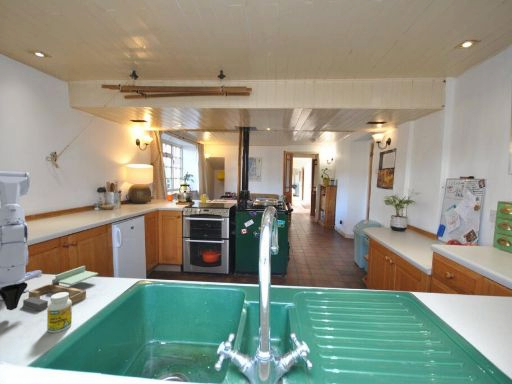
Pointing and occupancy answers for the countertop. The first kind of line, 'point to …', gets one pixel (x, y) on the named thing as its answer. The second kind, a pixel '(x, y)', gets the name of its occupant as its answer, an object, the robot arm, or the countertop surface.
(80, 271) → the cover
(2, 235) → the robot arm
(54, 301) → the supplement bottle
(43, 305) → the gray rectangular block
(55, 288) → the brown wooden frame
